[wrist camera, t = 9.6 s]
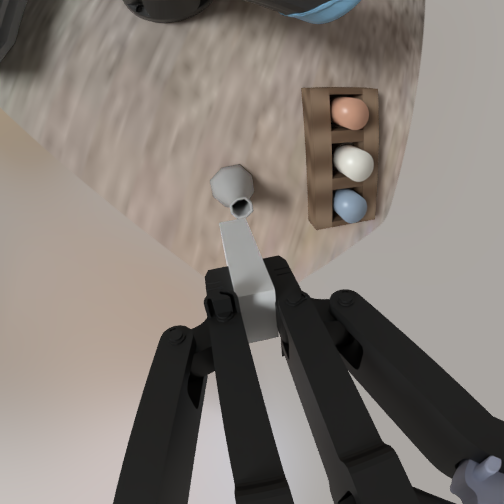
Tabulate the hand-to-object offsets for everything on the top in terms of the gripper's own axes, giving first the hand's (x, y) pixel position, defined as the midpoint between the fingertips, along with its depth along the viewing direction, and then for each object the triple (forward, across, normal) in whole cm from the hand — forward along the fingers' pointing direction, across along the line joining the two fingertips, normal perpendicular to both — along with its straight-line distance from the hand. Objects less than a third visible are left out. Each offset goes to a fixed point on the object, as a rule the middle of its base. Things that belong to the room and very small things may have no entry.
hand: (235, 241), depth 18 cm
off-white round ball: (+29, +22, -5) cm, 37 cm away
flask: (+33, +3, -8) cm, 34 cm away
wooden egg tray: (+32, +22, -5) cm, 39 cm away
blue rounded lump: (+31, +22, -13) cm, 40 cm away
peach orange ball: (+31, +22, +3) cm, 38 cm away
